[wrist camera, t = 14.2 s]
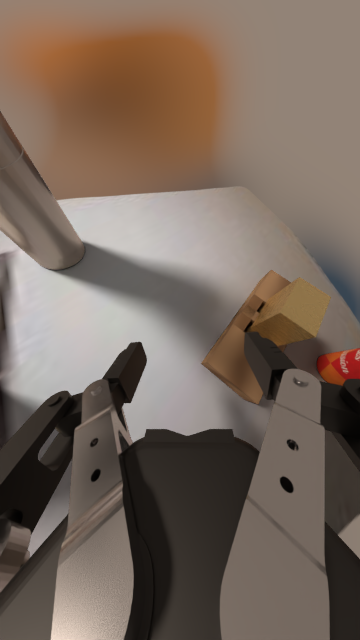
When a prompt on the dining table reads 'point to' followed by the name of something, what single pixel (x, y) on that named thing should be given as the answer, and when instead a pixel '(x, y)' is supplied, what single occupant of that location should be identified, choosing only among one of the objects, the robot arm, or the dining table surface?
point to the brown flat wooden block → (242, 342)
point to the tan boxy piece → (291, 314)
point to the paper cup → (339, 366)
